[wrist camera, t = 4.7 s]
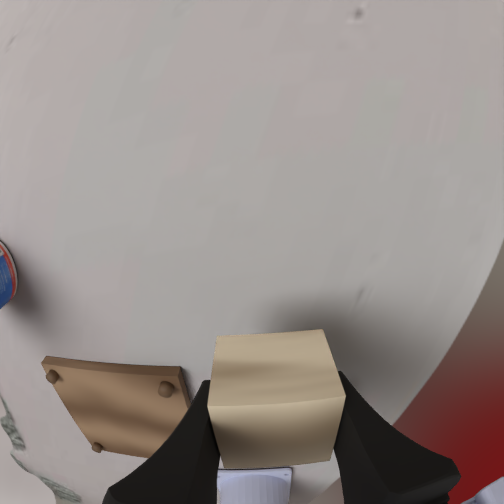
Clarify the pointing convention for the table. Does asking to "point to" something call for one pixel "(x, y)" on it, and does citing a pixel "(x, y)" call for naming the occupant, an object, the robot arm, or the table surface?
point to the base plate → (120, 402)
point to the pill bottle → (7, 276)
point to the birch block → (275, 399)
